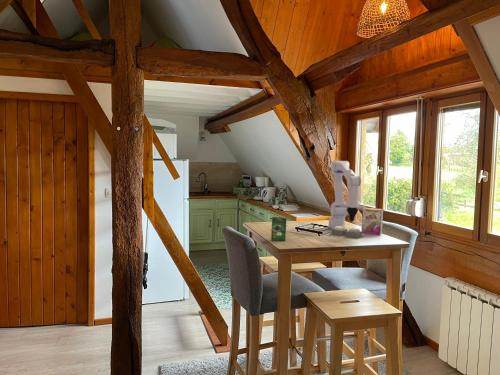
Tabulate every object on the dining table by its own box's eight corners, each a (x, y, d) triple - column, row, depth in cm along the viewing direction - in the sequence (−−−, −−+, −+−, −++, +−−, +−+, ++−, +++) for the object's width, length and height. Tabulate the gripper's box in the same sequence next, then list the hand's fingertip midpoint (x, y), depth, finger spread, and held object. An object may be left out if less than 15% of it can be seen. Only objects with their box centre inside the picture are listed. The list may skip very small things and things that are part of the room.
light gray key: (348, 234, 223) (348, 229, 223) (352, 233, 227) (352, 228, 226) (356, 235, 220) (356, 230, 220) (359, 234, 224) (359, 229, 224)
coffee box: (285, 240, 219) (286, 216, 218) (286, 241, 216) (286, 217, 215) (271, 239, 219) (271, 216, 218) (271, 240, 216) (271, 217, 215)
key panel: (328, 237, 229) (329, 229, 228) (335, 234, 236) (336, 227, 235) (358, 241, 217) (358, 233, 217) (364, 239, 224) (364, 231, 224)
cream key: (334, 232, 229) (334, 227, 228) (337, 231, 232) (338, 226, 232) (341, 233, 226) (341, 228, 226) (344, 232, 229) (344, 227, 229)
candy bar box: (360, 235, 234) (362, 208, 233) (363, 234, 239) (364, 207, 237) (380, 237, 229) (381, 210, 227) (382, 236, 233) (383, 209, 231)
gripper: (338, 196, 224) (337, 220, 225) (362, 199, 215) (361, 223, 216) (343, 195, 230) (342, 218, 231) (367, 198, 221) (366, 221, 222)
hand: (352, 221), depth 224 cm, fingers closed
